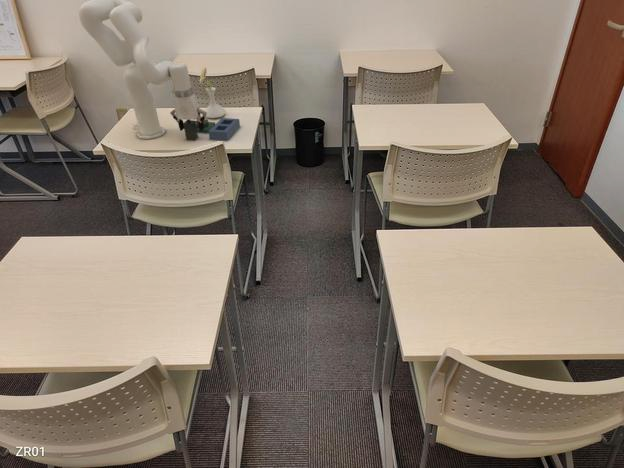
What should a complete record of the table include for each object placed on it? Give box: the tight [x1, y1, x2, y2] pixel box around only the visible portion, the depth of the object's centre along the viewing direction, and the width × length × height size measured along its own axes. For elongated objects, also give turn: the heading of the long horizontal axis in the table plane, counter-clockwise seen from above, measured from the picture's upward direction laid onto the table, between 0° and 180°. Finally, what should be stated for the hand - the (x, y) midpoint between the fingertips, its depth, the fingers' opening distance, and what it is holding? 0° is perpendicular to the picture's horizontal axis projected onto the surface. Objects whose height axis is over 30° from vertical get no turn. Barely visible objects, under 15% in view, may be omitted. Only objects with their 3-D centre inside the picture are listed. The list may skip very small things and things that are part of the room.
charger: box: [183, 120, 199, 142], centre depth 218 cm, size 4×4×10 cm
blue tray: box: [208, 117, 241, 142], centre depth 223 cm, size 9×16×4 cm, turn 166°
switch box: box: [194, 118, 216, 134], centre depth 228 cm, size 10×9×4 cm
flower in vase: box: [198, 67, 227, 119], centre depth 234 cm, size 13×11×25 cm
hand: (192, 129), depth 218 cm, fingers open, 9 cm apart
